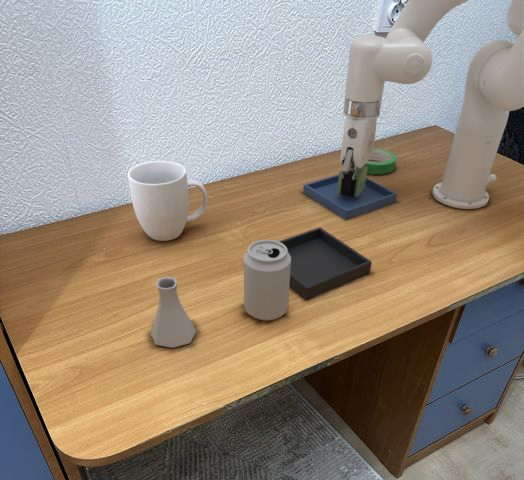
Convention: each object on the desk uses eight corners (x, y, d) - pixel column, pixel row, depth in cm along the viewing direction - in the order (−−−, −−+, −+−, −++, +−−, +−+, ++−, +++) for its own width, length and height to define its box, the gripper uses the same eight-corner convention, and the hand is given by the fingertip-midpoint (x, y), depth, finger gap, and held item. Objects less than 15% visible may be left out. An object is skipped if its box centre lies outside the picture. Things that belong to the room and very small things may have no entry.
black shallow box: (318, 237, 104) (319, 226, 103) (369, 273, 95) (372, 261, 94) (257, 259, 98) (257, 248, 96) (305, 300, 89) (307, 288, 87)
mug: (202, 214, 111) (197, 154, 102) (216, 239, 103) (213, 177, 95) (133, 224, 107) (123, 164, 98) (143, 251, 100) (132, 188, 91)
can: (283, 326, 84) (287, 264, 75) (239, 320, 85) (238, 258, 76) (291, 299, 89) (295, 239, 81) (249, 293, 90) (249, 233, 82)
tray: (351, 177, 126) (352, 169, 124) (395, 202, 117) (397, 193, 115) (303, 192, 119) (303, 184, 118) (345, 219, 110) (347, 211, 109)
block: (344, 183, 119) (346, 162, 116) (364, 188, 118) (367, 167, 114) (337, 192, 116) (339, 171, 113) (358, 197, 114) (361, 175, 111)
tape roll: (367, 154, 137) (369, 144, 135) (402, 166, 131) (404, 156, 130) (342, 165, 131) (343, 155, 129) (378, 179, 125) (380, 168, 124)
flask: (152, 320, 84) (143, 269, 77) (196, 318, 85) (191, 268, 78) (149, 350, 79) (139, 298, 72) (196, 348, 79) (190, 296, 73)
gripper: (367, 122, 98) (355, 209, 110) (390, 97, 109) (377, 179, 121) (330, 116, 100) (322, 202, 112) (357, 92, 111) (347, 173, 124)
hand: (351, 189), depth 117 cm, fingers closed on block, 5 cm apart
